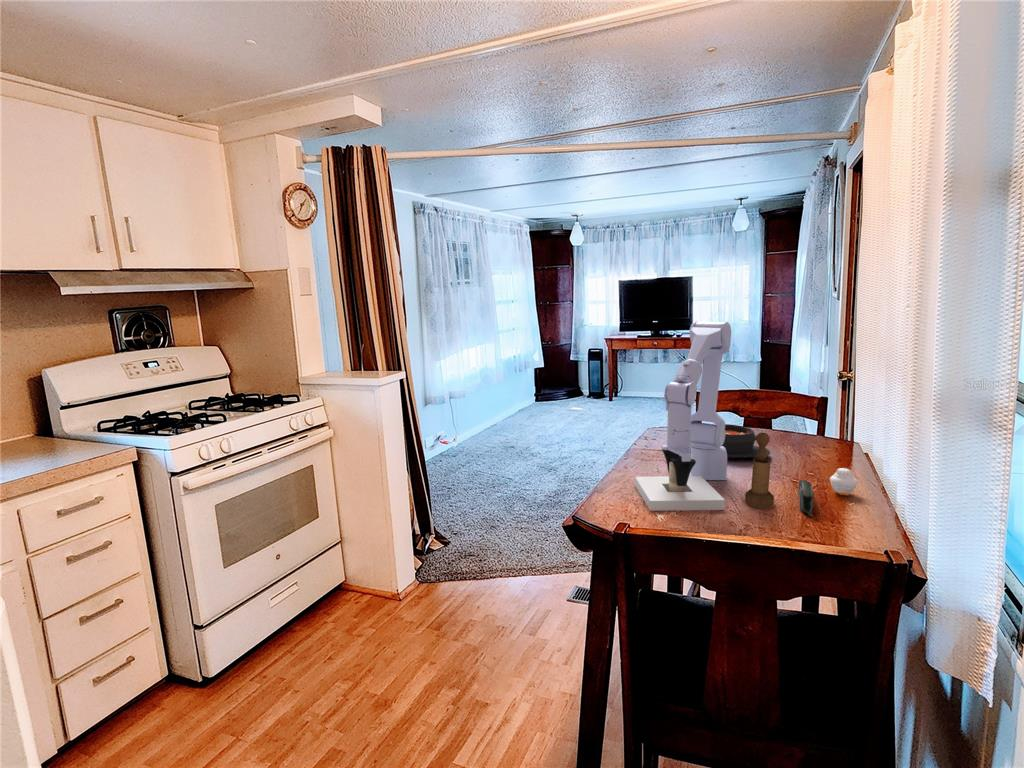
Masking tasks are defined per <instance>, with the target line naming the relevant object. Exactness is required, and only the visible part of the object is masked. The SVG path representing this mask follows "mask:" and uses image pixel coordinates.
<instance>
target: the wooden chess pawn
mask: <svg viewBox="0 0 1024 768" xmlns="http://www.w3.org/2000/svg"><path fill="white" fill-rule="evenodd" d="M755 436H756V440H755V441H756V443H757V445H758V446H759V449H758V450H757V454H758V457H753V459H752V474H751V487H750V489H749V490H747V491H746V492H745V496H744V502H745V503H746V505H748V506H751V507H754V508H758V509H771V508H773V506H774V502H775V501H774V500H775V496H774V495H773V494H772V493H771V491H769V488H770V472H771V460H769V459H767V456H766V455H767V451H766V449H767V448H766V447H767V445H768V444H769V442H770V435H769V434H768V433H766V432H760V433H757V435H755ZM765 448H766V449H765Z"/></svg>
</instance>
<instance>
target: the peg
mask: <svg viewBox="0 0 1024 768" xmlns="http://www.w3.org/2000/svg"><path fill="white" fill-rule="evenodd" d="M668 476H669V492H685V486H678V485H677V482H676V474H675V468H674V465H673V463H672V462H670V463H669V473H668Z"/></svg>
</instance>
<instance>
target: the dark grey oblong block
mask: <svg viewBox="0 0 1024 768" xmlns="http://www.w3.org/2000/svg"><path fill="white" fill-rule="evenodd" d="M798 482H799V483H798V495H799V496H798V495H797V496H798V498H799V499H800V500H799V499H798V500H799V505H798V506H799V509H800V511H802V512H803V513H807V515H808V516H809V517H810V516H812V517H813V514H812V512H813V507H814V502H815V501H814V500H815V493H814V490H813V485H812V484H811V481H808V480H804V479H803V480H802V479H801V480H799V481H798Z"/></svg>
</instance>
